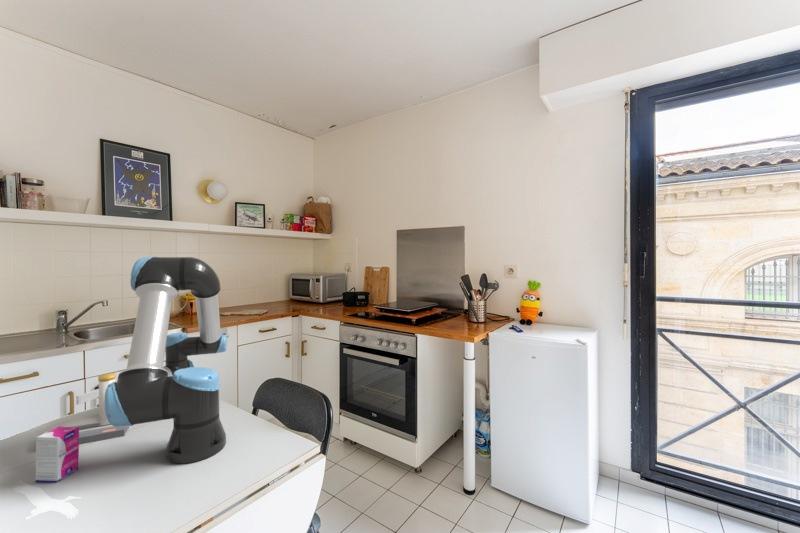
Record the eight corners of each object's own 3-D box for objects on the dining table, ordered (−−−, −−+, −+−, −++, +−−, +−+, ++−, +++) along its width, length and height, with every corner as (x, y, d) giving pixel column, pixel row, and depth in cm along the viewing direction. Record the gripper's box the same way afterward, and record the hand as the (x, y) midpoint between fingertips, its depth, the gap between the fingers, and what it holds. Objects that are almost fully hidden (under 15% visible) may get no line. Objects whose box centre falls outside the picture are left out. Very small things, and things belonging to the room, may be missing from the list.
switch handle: (117, 421, 112) (117, 372, 111) (113, 426, 108) (113, 376, 108) (101, 423, 110) (100, 374, 109) (96, 429, 106) (96, 378, 106)
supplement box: (58, 483, 84) (57, 437, 84) (34, 482, 84) (33, 437, 84) (80, 468, 90) (79, 426, 90) (58, 468, 90) (57, 426, 90)
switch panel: (131, 422, 116) (131, 413, 116) (124, 435, 107) (124, 426, 107) (52, 436, 106) (52, 426, 106) (36, 452, 98) (36, 441, 98)
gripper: (181, 392, 126) (124, 418, 106) (128, 386, 132) (64, 410, 111) (181, 372, 126) (124, 394, 106) (128, 367, 132) (63, 387, 111)
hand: (93, 402), depth 108 cm, fingers open, 13 cm apart
